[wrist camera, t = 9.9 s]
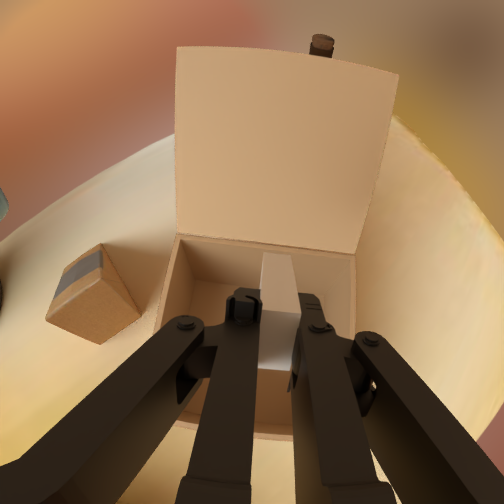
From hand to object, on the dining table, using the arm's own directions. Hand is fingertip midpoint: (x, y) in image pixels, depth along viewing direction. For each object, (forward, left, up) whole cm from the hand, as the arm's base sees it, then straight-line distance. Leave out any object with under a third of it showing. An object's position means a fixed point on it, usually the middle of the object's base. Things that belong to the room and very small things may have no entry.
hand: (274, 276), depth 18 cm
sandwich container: (-17, -19, -27) cm, 37 cm away
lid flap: (-12, +7, -5) cm, 14 cm away
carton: (+1, -1, -27) cm, 27 cm away
